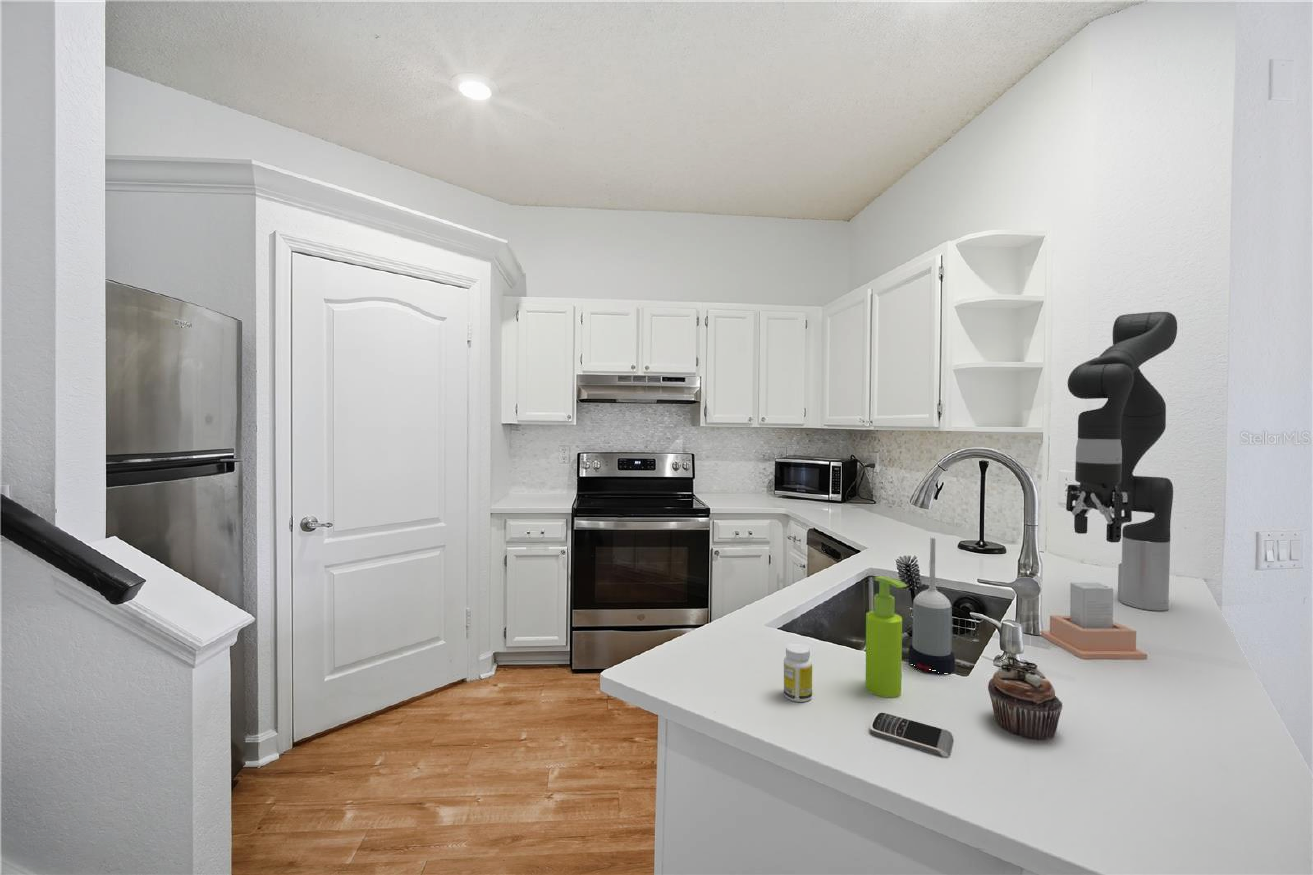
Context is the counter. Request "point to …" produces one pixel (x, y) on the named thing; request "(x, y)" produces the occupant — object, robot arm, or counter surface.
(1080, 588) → the skincare box
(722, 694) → the counter surface
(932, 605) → the grey toilet brush
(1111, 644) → the tan open box
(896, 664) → the soap dispenser
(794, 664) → the supplement bottle
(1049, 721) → the cupcake
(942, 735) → the cell phone
